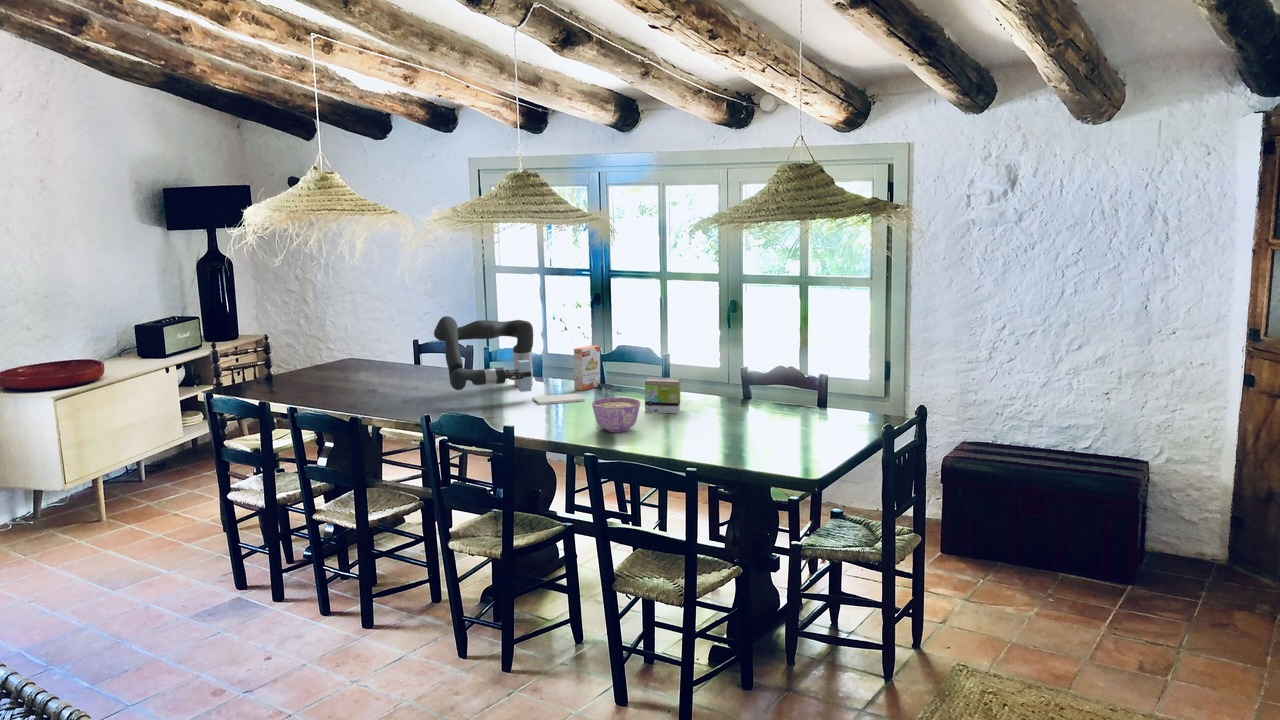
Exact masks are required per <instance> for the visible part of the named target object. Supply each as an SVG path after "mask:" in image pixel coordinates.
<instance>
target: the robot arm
mask: <svg viewBox="0 0 1280 720" xmlns="http://www.w3.org/2000/svg"><path fill="white" fill-rule="evenodd" d="M433 335H434V338H435V339H436V340H437V341H441V342H445V355H444V356H445V361H446V364H447V365H446V366H447V368H448V375H449V376H448V377H449V384H450V386H451V387H452V388H453V389H454V390H457V391H462V390H463V389H464V388H465V387H466V385H467V381H469V382H471V383H472V385H473V386H484V385H487V386H488V385H489V386H490V385H502V384H505V383H506V379H508V380H509V381H510V380H511V381H513V386H515V387H518V379H523V378H524V377H531V387H532V386H533V384H534V383H533V381H534V380H533V352H532V350H533V347H534V327H533V325H532V323H531V322H530V321H527V320H524V319H523V320H522V319H514V320H506V321H498V320H487V319H486V320H482V319H481V320H475V321H472V322H470V323H468V324H466V325H462V326H459V327H458V324H457V321H456V320H455V319H454V318H453V317H451V316H448V315H445V316H443V317H441V318H440V319H439V320H438V322H437V324H436V326H435V329H434V331H433ZM499 337H510V338H515V339H516V344H515V345H514V346H513V348H512V350H513V351H512V352H513V353H512V354H513V355H512V356H513V369H505V368H504V367H491V368H484V369H472V368H471V369H470V368H464V364H463V358H462V355H461V351H460V344H459V341H462V340H463V341H464V340H465V341H466V340H491V339H495V338H499ZM520 360H529V361H530V366H531V372H518V363H517V361H520ZM519 375H521V377H519Z"/></svg>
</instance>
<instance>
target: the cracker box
mask: <svg viewBox="0 0 1280 720" xmlns="http://www.w3.org/2000/svg"><path fill="white" fill-rule="evenodd" d="M573 372H574V373H573V376H574V377H573V382H574V383H573V385H574V389H573V390H575V391H580V390H581V391H580V392H583V391H587V390H592V389H594V388H593V387H594V386H598V385H594V384H597V383H599V384H600V385H601V346H599V345H586V346H581V347H576V348H573ZM591 388H592V389H591Z"/></svg>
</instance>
